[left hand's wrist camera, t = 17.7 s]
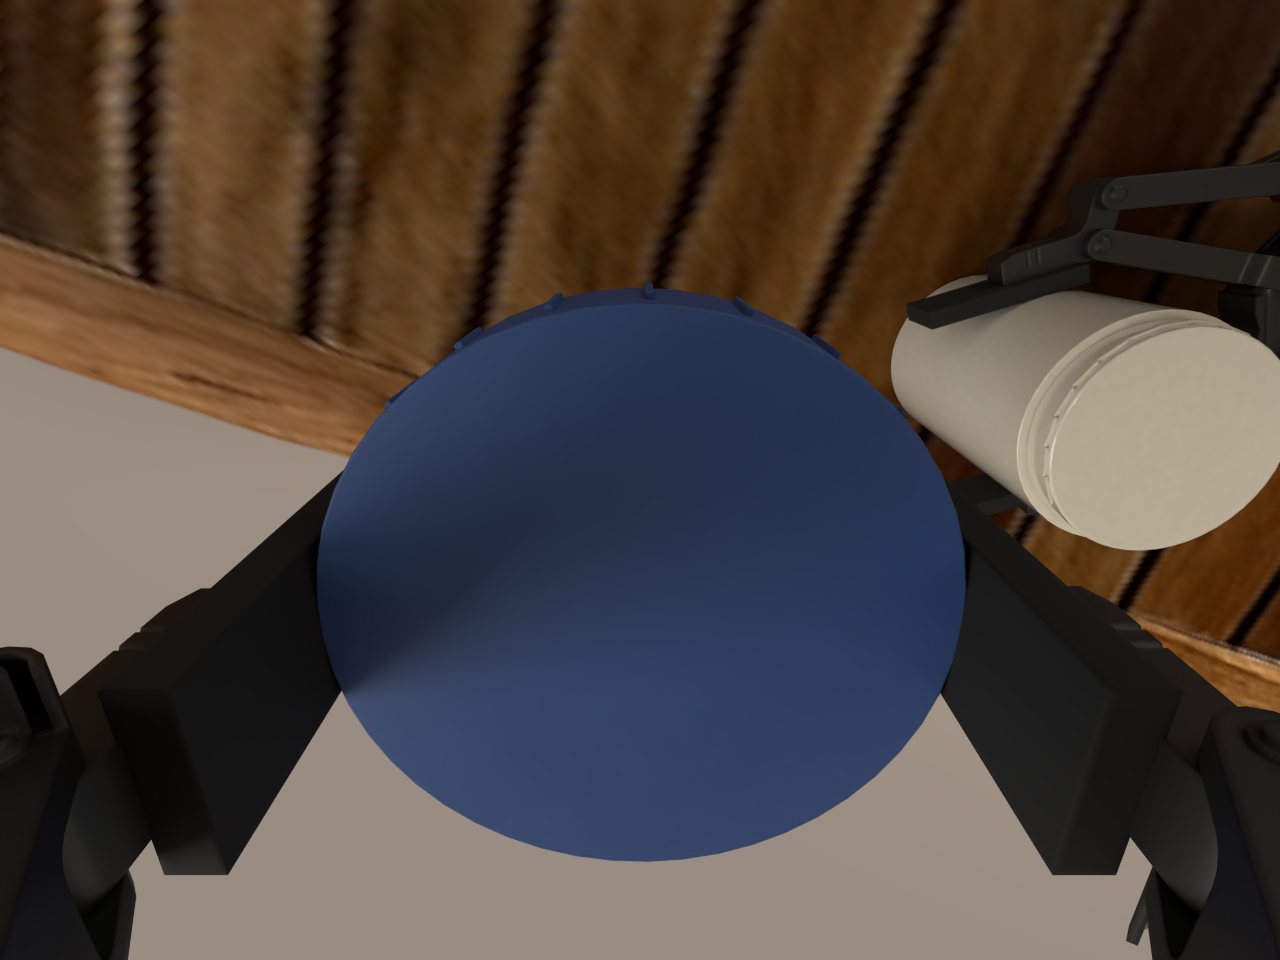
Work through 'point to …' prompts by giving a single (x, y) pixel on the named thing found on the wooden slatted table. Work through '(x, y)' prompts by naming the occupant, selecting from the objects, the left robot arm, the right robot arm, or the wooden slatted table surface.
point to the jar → (1101, 411)
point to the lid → (641, 577)
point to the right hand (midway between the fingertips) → (934, 415)
